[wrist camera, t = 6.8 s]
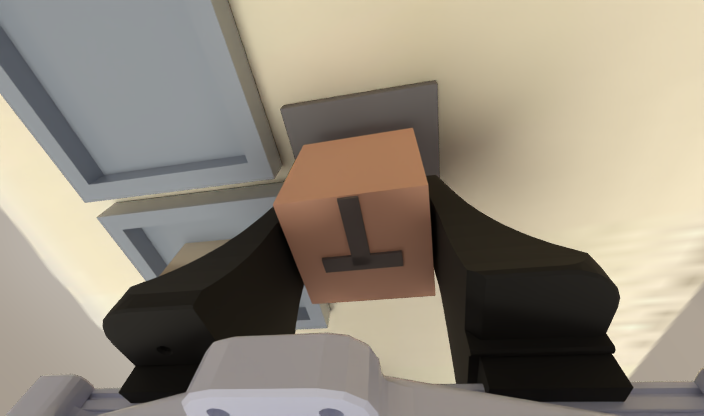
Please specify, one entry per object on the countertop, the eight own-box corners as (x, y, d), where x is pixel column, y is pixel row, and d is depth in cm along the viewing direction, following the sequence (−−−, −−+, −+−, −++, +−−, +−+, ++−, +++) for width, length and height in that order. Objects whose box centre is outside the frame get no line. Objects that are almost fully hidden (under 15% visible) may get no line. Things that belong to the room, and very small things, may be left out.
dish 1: (282, 165, 16) (274, 178, 15) (105, 188, 18) (85, 202, 17) (185, -128, 10) (158, -146, 9) (-66, -51, 12) (-117, -56, 11)
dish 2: (330, 310, 23) (327, 328, 22) (196, 317, 25) (187, 334, 23) (287, 181, 17) (280, 195, 16) (115, 202, 19) (96, 217, 17)
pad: (438, 211, 17) (440, 217, 17) (318, 223, 18) (316, 229, 18) (435, 80, 13) (437, 83, 13) (283, 105, 15) (280, 109, 14)
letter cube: (420, 219, 14) (435, 297, 11) (326, 230, 15) (309, 306, 11) (412, 127, 12) (428, 186, 8) (301, 145, 13) (269, 206, 9)
